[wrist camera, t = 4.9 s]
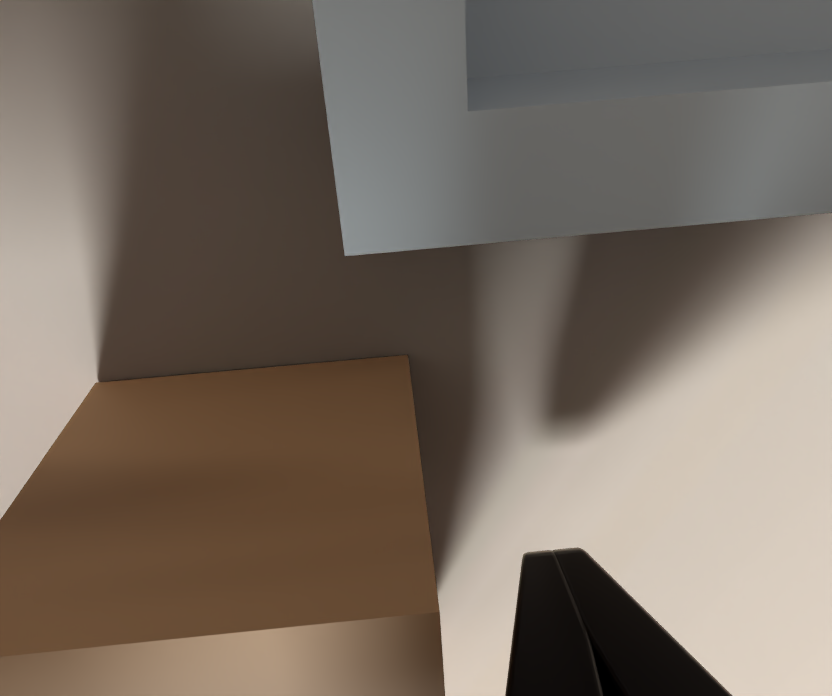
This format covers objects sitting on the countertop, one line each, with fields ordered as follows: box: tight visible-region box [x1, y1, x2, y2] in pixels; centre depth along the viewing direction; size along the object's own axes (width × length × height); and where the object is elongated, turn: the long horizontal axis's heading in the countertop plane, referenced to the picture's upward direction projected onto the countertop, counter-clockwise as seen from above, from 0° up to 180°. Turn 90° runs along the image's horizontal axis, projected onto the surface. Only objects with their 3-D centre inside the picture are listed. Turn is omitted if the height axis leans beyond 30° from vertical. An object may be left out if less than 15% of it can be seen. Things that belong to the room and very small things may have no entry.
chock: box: [0, 355, 445, 696], centre depth 8 cm, size 5×4×4 cm
